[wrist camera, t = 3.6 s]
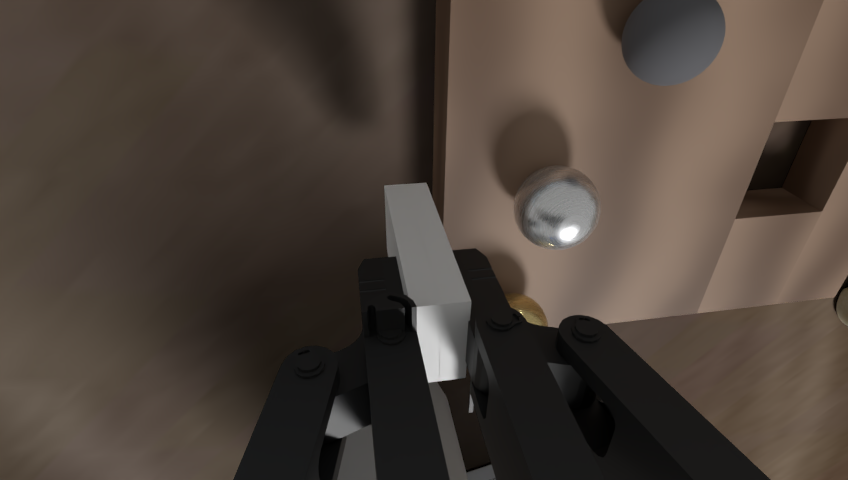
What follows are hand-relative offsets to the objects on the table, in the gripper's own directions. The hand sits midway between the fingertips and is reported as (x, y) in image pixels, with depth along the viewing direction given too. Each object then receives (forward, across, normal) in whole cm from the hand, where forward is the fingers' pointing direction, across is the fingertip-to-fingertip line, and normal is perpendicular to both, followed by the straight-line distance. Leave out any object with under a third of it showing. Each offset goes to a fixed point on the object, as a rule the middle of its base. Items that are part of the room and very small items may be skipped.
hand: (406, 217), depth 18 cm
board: (+4, +13, 0) cm, 13 cm away
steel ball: (0, +6, 0) cm, 6 cm away
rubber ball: (0, +9, +6) cm, 11 cm away
